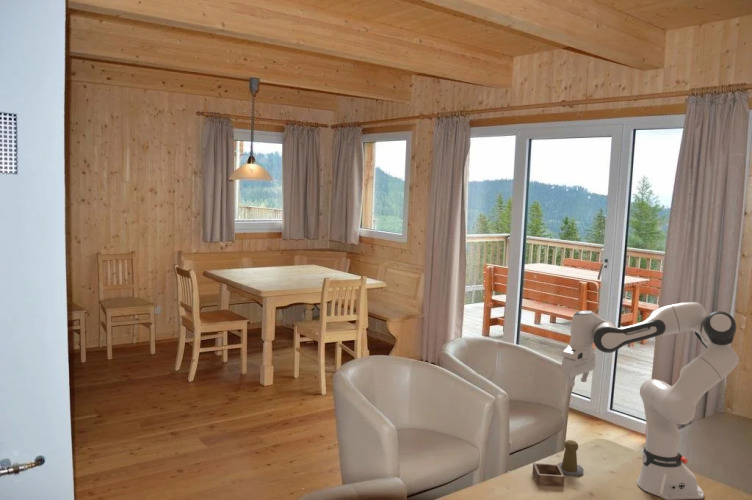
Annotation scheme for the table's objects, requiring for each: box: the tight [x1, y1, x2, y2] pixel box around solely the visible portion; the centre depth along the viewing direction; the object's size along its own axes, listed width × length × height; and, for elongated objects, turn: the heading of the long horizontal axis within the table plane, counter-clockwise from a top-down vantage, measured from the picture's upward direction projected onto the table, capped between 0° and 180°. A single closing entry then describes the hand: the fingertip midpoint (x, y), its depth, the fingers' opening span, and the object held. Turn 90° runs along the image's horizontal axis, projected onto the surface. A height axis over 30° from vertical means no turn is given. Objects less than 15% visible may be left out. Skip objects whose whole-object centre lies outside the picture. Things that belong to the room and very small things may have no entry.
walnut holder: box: [532, 462, 566, 488], centre depth 234 cm, size 10×10×4 cm
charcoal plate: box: [557, 461, 585, 477], centre depth 242 cm, size 10×10×1 cm
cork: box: [561, 439, 579, 472], centre depth 241 cm, size 6×6×11 cm
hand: (577, 384), depth 250 cm, fingers open, 8 cm apart
